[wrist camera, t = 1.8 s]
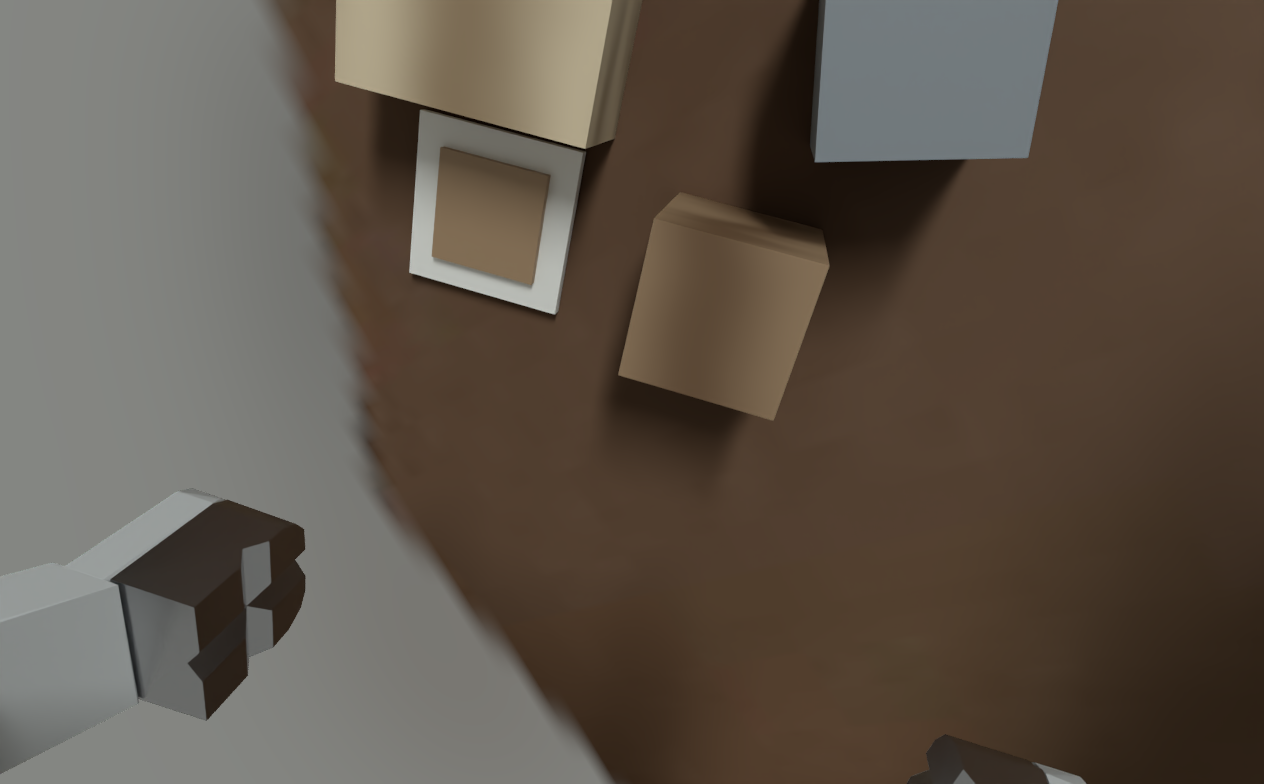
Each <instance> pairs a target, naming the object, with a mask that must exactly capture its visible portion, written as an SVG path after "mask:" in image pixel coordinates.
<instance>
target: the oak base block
mask: <svg viewBox="0 0 1264 784" xmlns="http://www.w3.org/2000/svg"><path fill="white" fill-rule="evenodd" d="M641 5H642V0H336V54H335V81H336V82H340V83H344V84H347V85H351V86H355V87H358V88H362V89H366V90H369V91H373V92H377V93H381V94H384V95H388V96H392V97H395V98H399V99H403V100H406V101H410V102H414V103H417V104H421V105H425V106H429V107H432V108H436V109H440V110H443V111H447V112H451V113H454V114H458V115H462V116H465V117H469V118H473V119H477V120H480V121H484V122H488V123H491V124H495V125H499V126H502V127H506V128H510V129H513V130H517V131H521V132H524V133H528V134H532V135H536V136H539V137H543V138H547V139H550V140H554V141H558V142H561V143H565V144H569V145H572V146H576V147H580V148H584V149H587V148H589V147H592V146H595V145H598V144H601V143H604V142H607V141H610V140H612V139H615V135H616V130H617V125H618V120H619V115H620V110H621V105H622V100H623V95H624V90H625V85H626V80H627V75H628V70H629V65H630V60H631V55H632V50H633V45H634V40H635V35H636V30H637V25H638V20H639V15H640V10H641Z"/></svg>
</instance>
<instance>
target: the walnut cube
mask: <svg viewBox="0 0 1264 784" xmlns="http://www.w3.org/2000/svg"><path fill="white" fill-rule="evenodd" d="M829 266H830V265H829V260H828V255H827V250H826V245H825V240H824V235H823V230H822V229H819V228H815V227H811V226H807V225H803V224H800V223H796V222H792V221H788V220H784V219H781V218H777V217H773V216H769V215H766V214H762V213H758V212H754V211H750V210H747V209H743V208H739V207H735V206H731V205H728V204H724V203H720V202H716V201H713V200H709V199H705V198H701V197H697V196H694V195H690V194H686V193H682V192H680V193H679V194H678V195H677V196H676V197H675V198H674V199H673V200H672V201H671V202H670V203H669V204H668V205H667V206H666V207H665V208H664V209H663V210H662V211H661V212H660V213H659V214H658V215H657V216H656V217H655V218H654V221H653V225H652V229H651V234H650V238H649V242H648V247H647V251H646V255H645V260H644V264H643V269H642V273H641V277H640V282H639V286H638V290H637V295H636V299H635V303H634V308H633V312H632V316H631V321H630V325H629V330H628V334H627V338H626V343H625V347H624V351H623V356H622V360H621V364H620V369H619V373H618V375H620V376H623V377H626V378H630V379H633V380H637V381H640V382H643V383H647V384H650V385H654V386H657V387H660V388H664V389H667V390H671V391H674V392H677V393H681V394H684V395H688V396H691V397H694V398H698V399H701V400H704V401H708V402H711V403H715V404H718V405H721V406H725V407H728V408H732V409H735V410H738V411H742V412H745V413H749V414H752V415H755V416H759V417H762V418H766V419H769V420H772V421H774V418H775V415H776V412H777V410H778V407H779V404H780V401H781V398H782V396H783V393H784V390H785V387H786V385H787V382H788V379H789V376H790V374H791V371H792V368H793V365H794V363H795V360H796V357H797V354H798V352H799V349H800V346H801V343H802V341H803V338H804V335H805V332H806V329H807V327H808V324H809V321H810V318H811V316H812V313H813V310H814V307H815V305H816V302H817V299H818V296H819V294H820V291H821V288H822V285H823V283H824V280H825V277H826V274H827V272H828V269H829Z"/></svg>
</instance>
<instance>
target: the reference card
mask: <svg viewBox="0 0 1264 784" xmlns="http://www.w3.org/2000/svg"><path fill="white" fill-rule="evenodd" d="M585 156H586V151H582V150H578V149H574V148H570V147H567V146H563V145H559V144H555V143H551V142H548V141H544V140H540V139H536V138H532V137H529V136H525V135H521V134H517V133H513V132H510V131H506V130H502V129H498V128H495V127H491V126H487V125H483V124H479V123H476V122H472V121H468V120H464V119H460V118H457V117H453V116H449V115H445V114H441V113H438V112H434V111H430V110H426V109H424V110H420V119H419V134H418V149H417V165H416V180H415V195H414V210H413V226H412V241H411V256H410V271H409V273H413V274H416V275H420V276H423V277H426V278H430V279H433V280H437V281H440V282H444V283H447V284H451V285H454V286H458V287H461V288H464V289H468V290H471V291H475V292H478V293H482V294H485V295H489V296H492V297H496V298H499V299H502V300H506V301H509V302H513V303H516V304H520V305H523V306H527V307H530V308H534V309H537V310H541V311H544V312H547V313H551V314H554V315H555V314H556V313H557V312H558V309H559V303H560V298H561V292H562V286H563V281H564V275H565V269H566V264H567V258H568V252H569V247H570V241H571V235H572V230H573V224H574V218H575V213H576V207H577V201H578V196H579V190H580V184H581V179H582V173H583V167H584V162H585Z"/></svg>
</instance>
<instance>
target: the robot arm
mask: <svg viewBox="0 0 1264 784" xmlns="http://www.w3.org/2000/svg"><path fill="white" fill-rule="evenodd" d="M304 550H305V537H304V529H303V528H301V527H300V526H298V525H296V524H294V523H292V522H289V521H286V520H283V519H280V518H277V517H275V516H272V515H269V514H266V513H263V512H260V511H258V510H255V509H252V508H249V507H246V506H244V505H241V504H238V503H235V502H232V501H230V500H225V499H222V498H219V497H216V496H213V495H210V494H208V493H205V492H202V491H199V490H196V489H194V488H190V489H186V490H181V491H177V492H175V493H174V494H172V495H171V496H169V497H168V498H166V499H165V500H163V501H162V502H161V503H159V504H157V505H156V506H154V507H153V508H151V509H150V510H148V511H147V512H145V513H144V514H142V515H141V516H139V517H138V518H136V519H135V520H133V521H132V522H130V523H129V524H127V525H126V526H124V527H123V528H121V529H120V530H118V531H117V532H115V533H114V534H113V535H111V536H109V537H108V538H106V539H105V540H103V541H102V542H100V543H99V544H97V545H96V546H94V547H93V548H92V549H90V550H88V551H87V552H85V553H84V554H82V555H81V556H79V557H78V558H76V559H75V560H73V561H72V562H70V563H69V564H67V565H66V566H63V565H60V564H56V563H49V564H45V565H42V566H38V567H34V568H30V569H27V570H23V571H19V572H15V573H11V574H7V575H4V576H0V774H1V773H3V772H5V771H7V770H9V769H11V768H13V767H15V766H17V765H19V764H21V763H23V762H25V761H27V760H29V759H31V758H33V757H34V756H36V755H39V754H41V753H43V752H45V751H46V750H48V749H50V748H52V747H54V746H56V745H58V744H60V743H62V742H64V741H66V740H68V739H70V738H72V737H74V736H76V735H78V734H80V733H82V732H84V731H86V730H88V729H90V728H91V727H94V726H96V725H97V724H100V723H102V722H103V721H106V720H108V719H109V718H111V717H113V716H115V715H117V714H119V713H121V712H123V711H125V710H127V709H129V708H131V707H133V706H135V705H137V704H138V703H139V700H138V699H140V700H144V701H147V702H150V703H153V704H156V705H159V706H162V707H165V708H169V709H172V710H175V711H178V712H181V713H184V714H187V715H191V716H193V717H196V718H199V719H203V720H207V719H209V718H210V716H211V715H212V714H213V713H214V712H215V711H216V710H217V709H218V708H219V707H220V705H221V704H222V703H223V702H224V701H225V700H226V699H227V698H228V697H229V696H230V694H231V693H232V692H233V691H234V690H235V689H236V688H237V687H238V686H239V685H240V683H241V682H242V681H243V680H244V679H245V678H246V677H247V676H248V666H249V657H251V656H253V655H256V654H258V653H261V652H263V651H266V650H268V649H270V648H273V647H274V646H275V645H276V644H277V642H278V641H279V640H280V639H281V637H283V635H284V634H285V633H286V632H287V631H288V630H289V628H290V626H291V624H292V623H293V621H294V619H295V617H296V615H297V613H298V612H299V610H300V608H301V605H302V601H303V597H304V593H305V575H304V573H303V571H302V570H301V568H300V567H299V565H298V564H297V562H296V561H295V559H296V558H297V557H298V556H299V555H300V554H301V553H302V552H303V551H304ZM926 755H927V760H928V765H929V769H930V770H927V771H925V772H922V773H919V774H917V775H914V776H911V777H910V779H909V781H908V782H907V784H1086V783H1085V782H1084V780H1083V779H1082V778H1081V777H1079V776H1076V775H1073V774H1070V773H1067V772H1063V771H1060V770H1057V769H1054V768H1051V767H1048V766H1044V765H1041V764H1038V763H1035V762H1030V761H1028V760H1026V759H1023V758H1019V757H1016V756H1013V755H1010V754H1007V753H1004V752H1000V751H997V750H994V749H991V748H988V747H984V746H981V745H978V744H975V743H972V742H968V741H965V740H962V739H959V738H956V737H952V736H949V735H946V734H945V735H943V736H941V737H939V738H937V739H936V740H935V741H934V742H933V744H932V745H931V747H930V748H929V750H928V751H927V753H926Z"/></svg>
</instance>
